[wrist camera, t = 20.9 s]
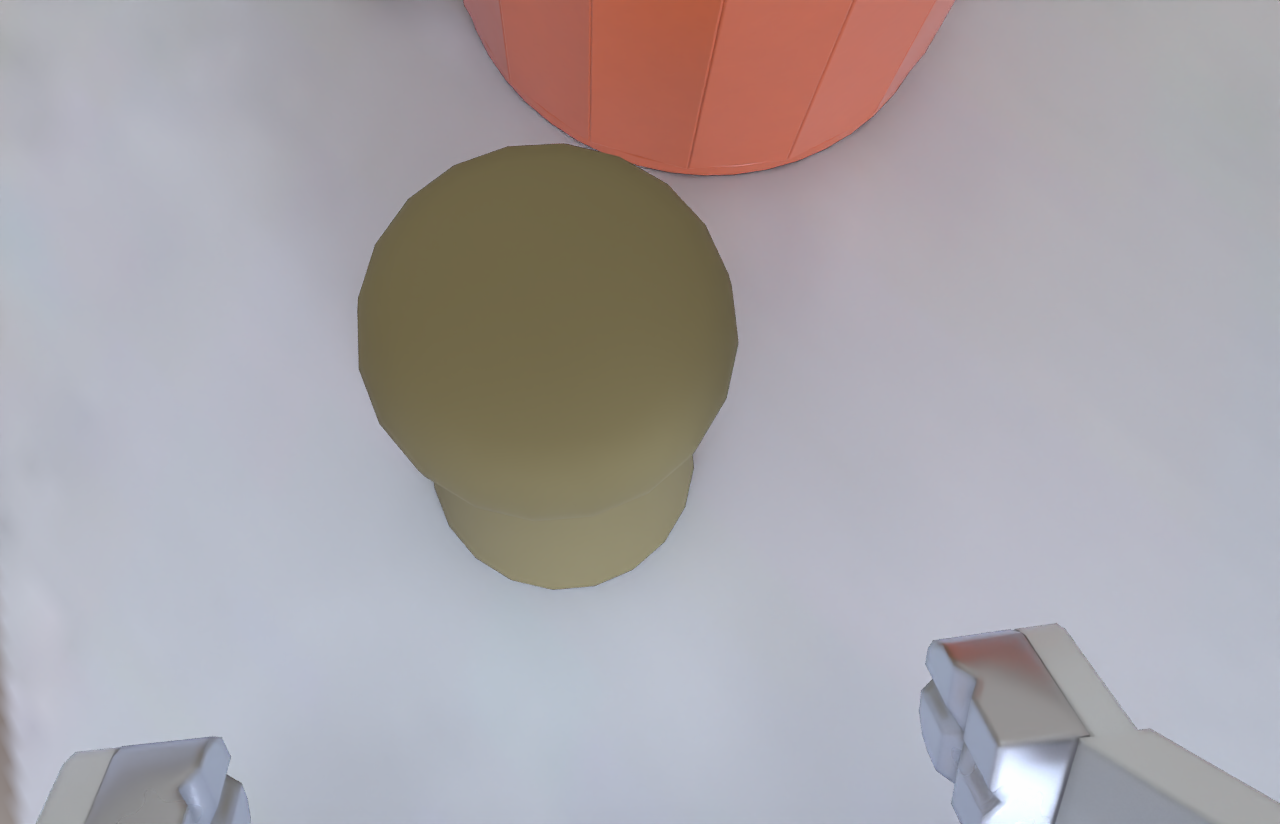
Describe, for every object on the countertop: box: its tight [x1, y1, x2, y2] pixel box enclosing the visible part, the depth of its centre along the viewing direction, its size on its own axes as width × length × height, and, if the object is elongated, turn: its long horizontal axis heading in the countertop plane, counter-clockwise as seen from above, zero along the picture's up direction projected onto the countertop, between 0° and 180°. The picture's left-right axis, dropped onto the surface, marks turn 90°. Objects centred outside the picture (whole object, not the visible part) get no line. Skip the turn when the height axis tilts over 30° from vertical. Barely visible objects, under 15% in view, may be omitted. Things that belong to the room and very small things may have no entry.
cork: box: [357, 143, 738, 590], centre depth 17 cm, size 6×6×11 cm
